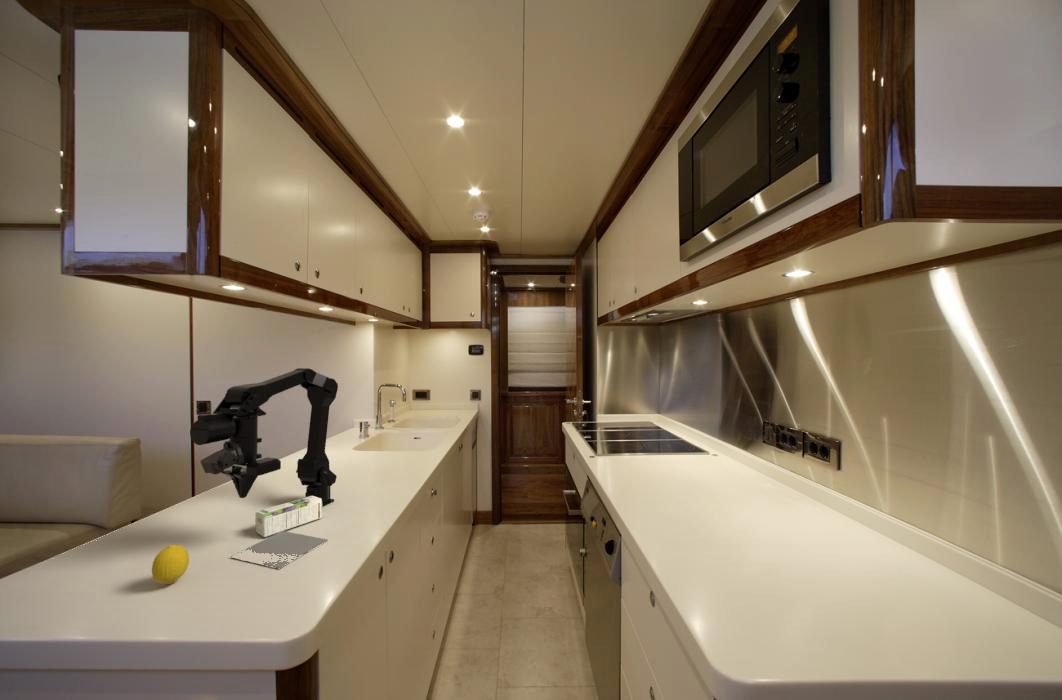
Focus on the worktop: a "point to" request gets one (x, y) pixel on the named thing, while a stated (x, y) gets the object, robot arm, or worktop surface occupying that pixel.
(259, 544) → the mat
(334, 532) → the worktop surface
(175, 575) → the lemon
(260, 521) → the syrup box
